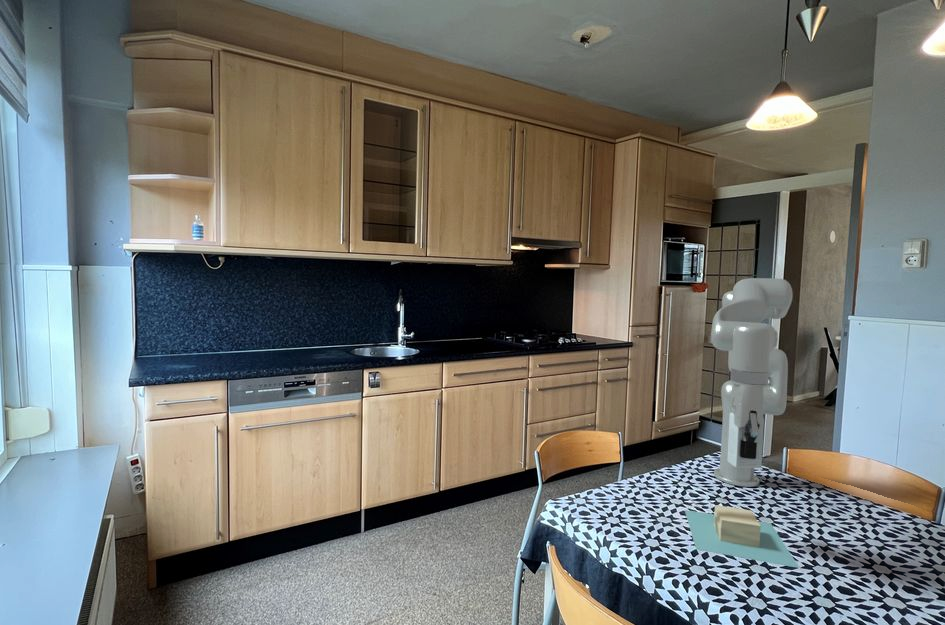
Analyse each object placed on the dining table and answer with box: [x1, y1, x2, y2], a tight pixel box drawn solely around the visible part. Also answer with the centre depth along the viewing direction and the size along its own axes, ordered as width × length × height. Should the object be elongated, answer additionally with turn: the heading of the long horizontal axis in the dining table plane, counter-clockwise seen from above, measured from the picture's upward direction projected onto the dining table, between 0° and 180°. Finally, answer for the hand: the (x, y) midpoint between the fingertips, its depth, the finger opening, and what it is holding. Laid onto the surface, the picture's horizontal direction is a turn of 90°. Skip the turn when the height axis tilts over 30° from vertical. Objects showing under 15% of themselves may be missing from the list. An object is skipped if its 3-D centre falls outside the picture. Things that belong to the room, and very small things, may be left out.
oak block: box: [714, 504, 761, 547], centre depth 112 cm, size 8×8×5 cm
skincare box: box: [727, 413, 765, 469], centre depth 111 cm, size 6×4×12 cm
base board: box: [684, 509, 800, 569], centre depth 112 cm, size 20×20×1 cm
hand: (744, 452), depth 111 cm, fingers closed on skincare box, 5 cm apart
